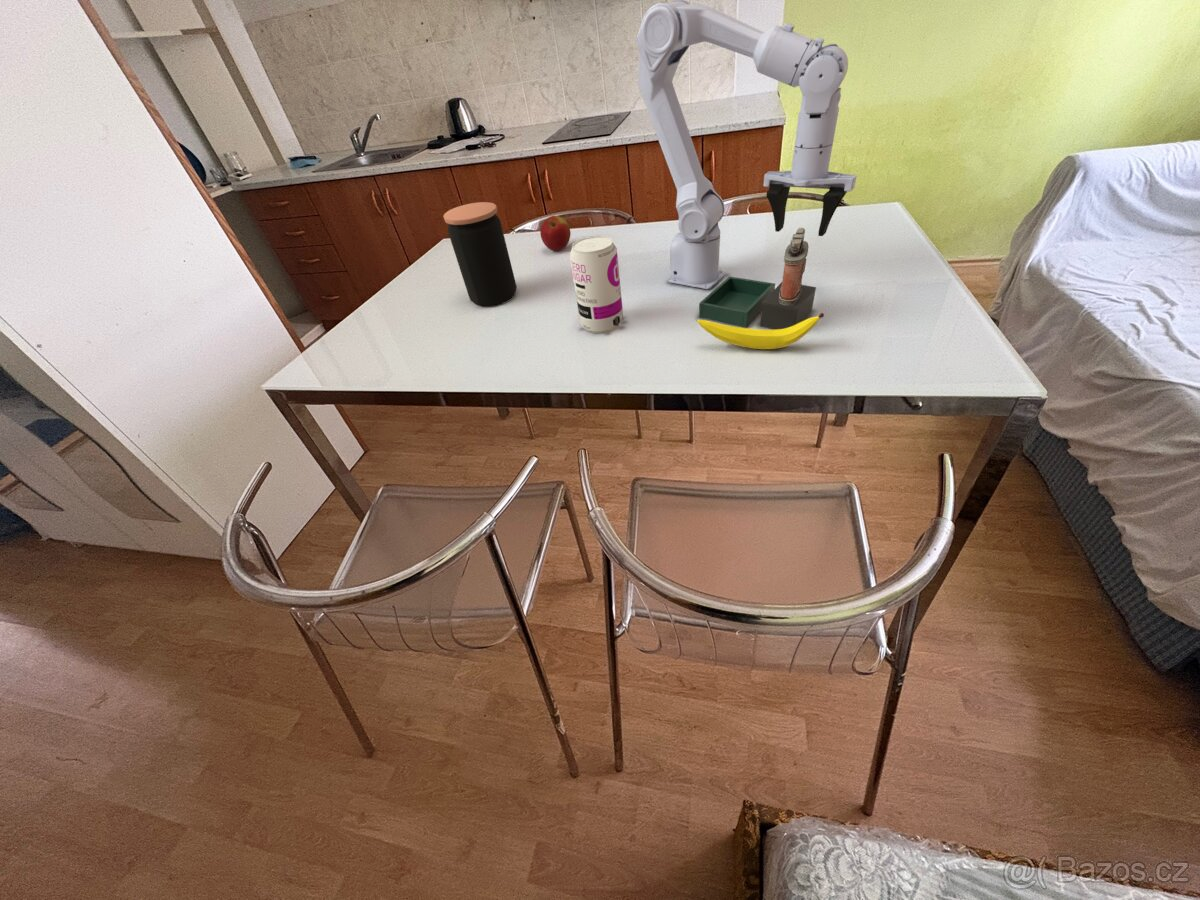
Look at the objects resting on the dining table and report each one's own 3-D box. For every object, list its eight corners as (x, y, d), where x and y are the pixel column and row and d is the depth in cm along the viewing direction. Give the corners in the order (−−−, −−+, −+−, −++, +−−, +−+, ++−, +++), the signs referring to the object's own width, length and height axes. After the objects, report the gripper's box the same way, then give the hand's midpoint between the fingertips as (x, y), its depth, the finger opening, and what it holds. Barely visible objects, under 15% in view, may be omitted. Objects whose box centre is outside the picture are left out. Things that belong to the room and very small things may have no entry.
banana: (697, 341, 83) (697, 307, 79) (816, 345, 78) (823, 308, 74) (695, 350, 81) (695, 316, 77) (817, 354, 76) (824, 318, 72)
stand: (759, 326, 84) (762, 302, 81) (778, 305, 89) (781, 281, 86) (794, 333, 81) (798, 308, 78) (811, 311, 86) (816, 287, 83)
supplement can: (628, 314, 93) (622, 234, 83) (616, 336, 88) (607, 253, 78) (589, 312, 96) (578, 234, 86) (575, 333, 90) (561, 253, 80)
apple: (537, 254, 123) (530, 221, 118) (555, 242, 128) (549, 210, 122) (561, 257, 120) (555, 223, 114) (579, 245, 124) (574, 212, 119)
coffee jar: (526, 288, 108) (506, 202, 96) (501, 310, 102) (475, 220, 90) (488, 284, 112) (464, 201, 100) (460, 305, 106) (431, 219, 94)
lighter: (797, 306, 79) (807, 243, 72) (775, 304, 80) (783, 243, 74) (803, 284, 84) (814, 224, 77) (783, 283, 85) (791, 224, 79)
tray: (698, 317, 89) (699, 303, 87) (728, 290, 96) (729, 276, 94) (746, 327, 85) (747, 312, 83) (773, 298, 91) (775, 283, 89)
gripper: (759, 149, 79) (752, 235, 88) (854, 151, 72) (835, 244, 81) (776, 139, 83) (767, 222, 92) (867, 139, 75) (848, 229, 84)
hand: (800, 231), depth 86 cm, fingers open, 7 cm apart
